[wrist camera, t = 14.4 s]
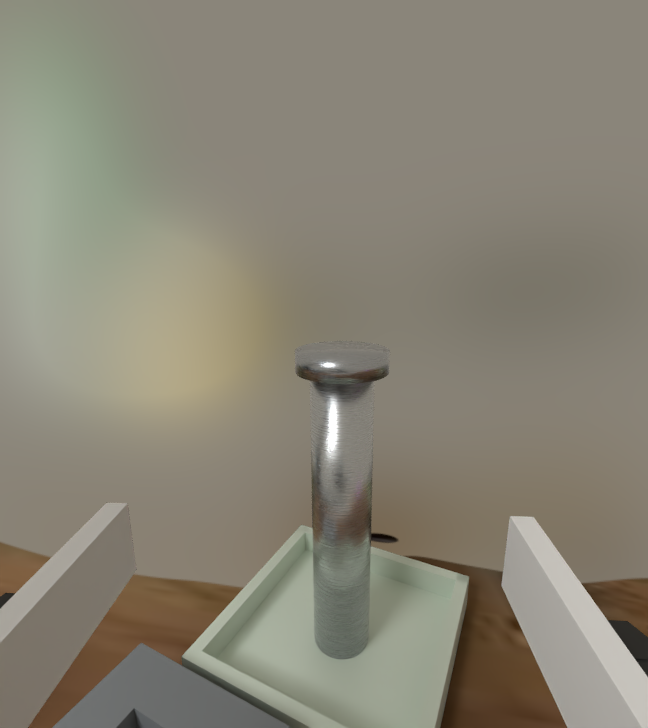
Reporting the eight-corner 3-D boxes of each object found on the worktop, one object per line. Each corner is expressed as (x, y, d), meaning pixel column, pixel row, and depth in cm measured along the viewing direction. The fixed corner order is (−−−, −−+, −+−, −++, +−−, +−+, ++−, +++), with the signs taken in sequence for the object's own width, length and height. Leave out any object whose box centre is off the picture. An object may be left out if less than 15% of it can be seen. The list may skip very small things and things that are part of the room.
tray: (185, 690, 25) (181, 656, 24) (301, 549, 37) (301, 524, 36) (418, 829, 19) (421, 788, 18) (466, 605, 31) (469, 576, 30)
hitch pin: (287, 650, 26) (276, 354, 22) (324, 593, 31) (321, 338, 26) (363, 686, 24) (369, 364, 20) (391, 619, 29) (401, 345, 24)
